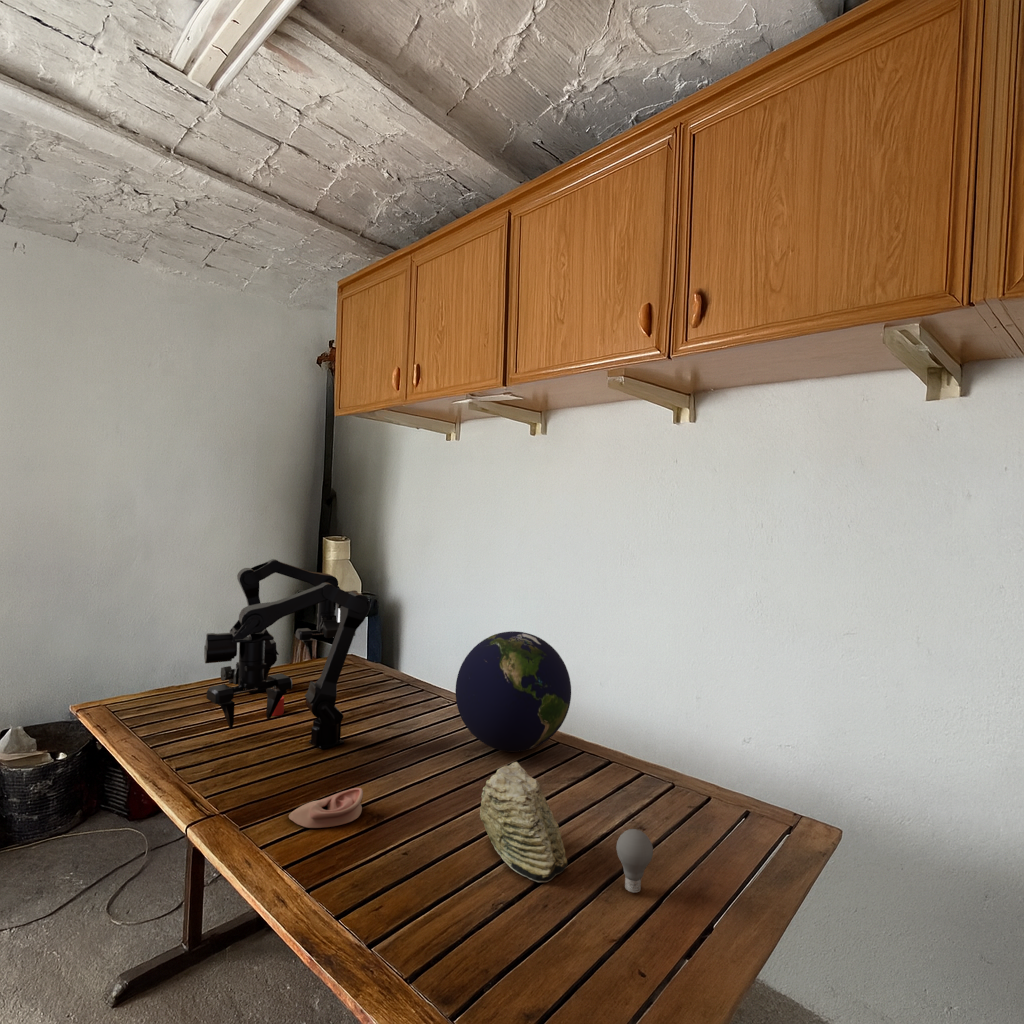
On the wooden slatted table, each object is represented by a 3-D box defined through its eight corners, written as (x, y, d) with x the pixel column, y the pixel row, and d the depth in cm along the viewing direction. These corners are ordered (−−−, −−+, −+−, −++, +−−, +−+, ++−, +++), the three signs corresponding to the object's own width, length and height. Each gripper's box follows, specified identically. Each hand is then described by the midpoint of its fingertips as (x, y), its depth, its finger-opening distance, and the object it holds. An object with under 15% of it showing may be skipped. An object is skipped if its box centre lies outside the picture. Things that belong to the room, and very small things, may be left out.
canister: (267, 716, 180) (268, 700, 180) (267, 711, 184) (268, 696, 184) (283, 715, 181) (284, 699, 181) (283, 710, 185) (284, 695, 185)
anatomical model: (280, 803, 122) (311, 778, 133) (279, 823, 122) (310, 796, 133) (344, 813, 119) (370, 786, 130) (343, 834, 119) (369, 805, 130)
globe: (499, 719, 185) (504, 617, 185) (589, 746, 168) (594, 633, 167) (428, 749, 161) (433, 631, 160) (525, 784, 144) (531, 652, 143)
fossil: (501, 827, 124) (504, 751, 124) (575, 868, 111) (578, 784, 111) (467, 843, 118) (470, 763, 118) (541, 889, 105) (545, 799, 105)
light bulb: (610, 879, 108) (613, 822, 108) (644, 879, 109) (647, 822, 109) (619, 902, 102) (622, 840, 102) (655, 901, 103) (658, 840, 103)
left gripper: (305, 617, 201) (303, 666, 202) (361, 614, 212) (359, 660, 212) (296, 611, 211) (294, 658, 211) (350, 608, 221) (349, 653, 221)
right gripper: (273, 647, 165) (271, 706, 165) (198, 658, 151) (196, 723, 151) (294, 655, 157) (292, 717, 157) (217, 668, 143) (215, 736, 144)
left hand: (325, 657), depth 214 cm, fingers open, 9 cm apart
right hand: (249, 723), depth 153 cm, fingers open, 9 cm apart
